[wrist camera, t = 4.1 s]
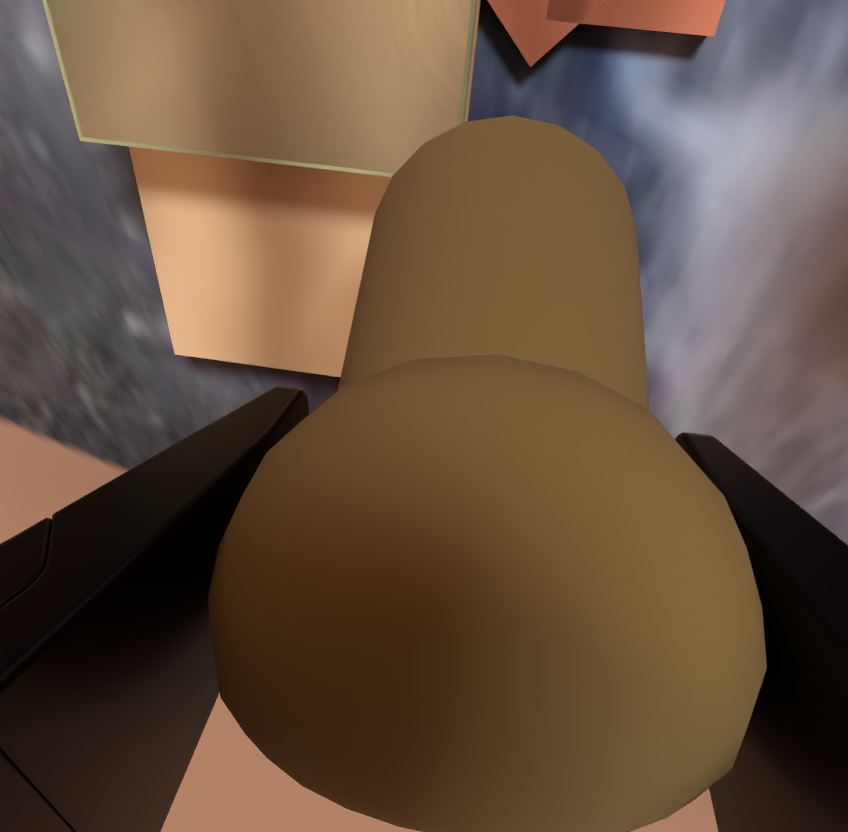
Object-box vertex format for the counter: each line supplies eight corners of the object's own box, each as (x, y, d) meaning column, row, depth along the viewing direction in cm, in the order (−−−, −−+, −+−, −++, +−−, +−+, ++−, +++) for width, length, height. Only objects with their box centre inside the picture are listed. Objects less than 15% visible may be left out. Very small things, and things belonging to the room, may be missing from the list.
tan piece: (788, -221, 13) (878, -289, 9) (598, 383, 22) (611, 449, 19) (81, -271, 14) (-51, -348, 10) (195, 328, 23) (145, 382, 20)
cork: (509, 410, 16) (498, 941, 7) (323, 277, 14) (7, 753, 5) (697, 243, 12) (1114, 850, 4) (483, 43, 11) (332, 294, 2)
